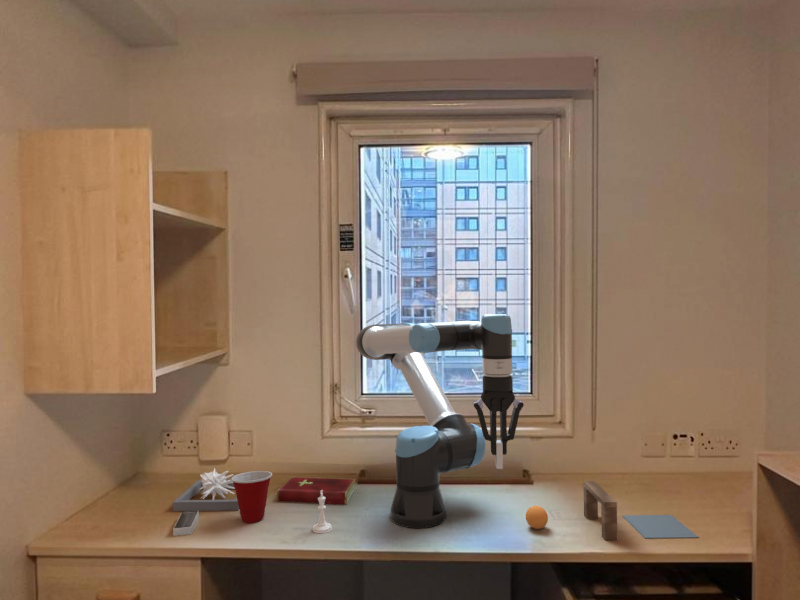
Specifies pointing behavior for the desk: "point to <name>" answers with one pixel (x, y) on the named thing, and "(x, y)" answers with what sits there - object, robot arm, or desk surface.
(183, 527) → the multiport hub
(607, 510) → the bridge
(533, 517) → the ball
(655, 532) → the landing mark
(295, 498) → the hardcover book
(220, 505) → the ball rest frame
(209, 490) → the spiky ball
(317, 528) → the chess piece
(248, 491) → the plastic cup
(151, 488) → the desk surface
